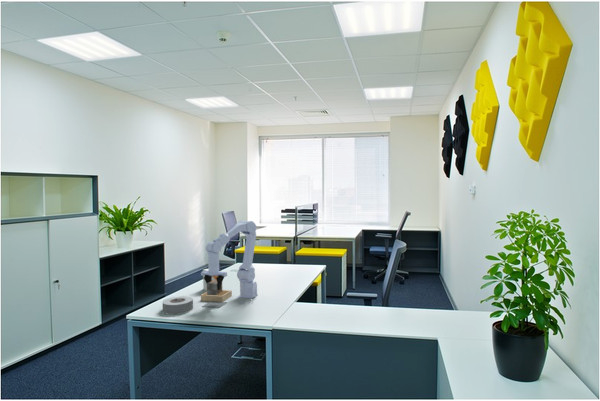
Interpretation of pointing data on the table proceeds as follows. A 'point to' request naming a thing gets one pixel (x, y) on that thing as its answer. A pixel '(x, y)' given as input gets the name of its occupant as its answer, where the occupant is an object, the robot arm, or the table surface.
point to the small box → (205, 281)
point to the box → (213, 288)
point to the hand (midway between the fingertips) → (214, 289)
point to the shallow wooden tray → (217, 296)
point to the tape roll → (177, 305)
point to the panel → (214, 304)
